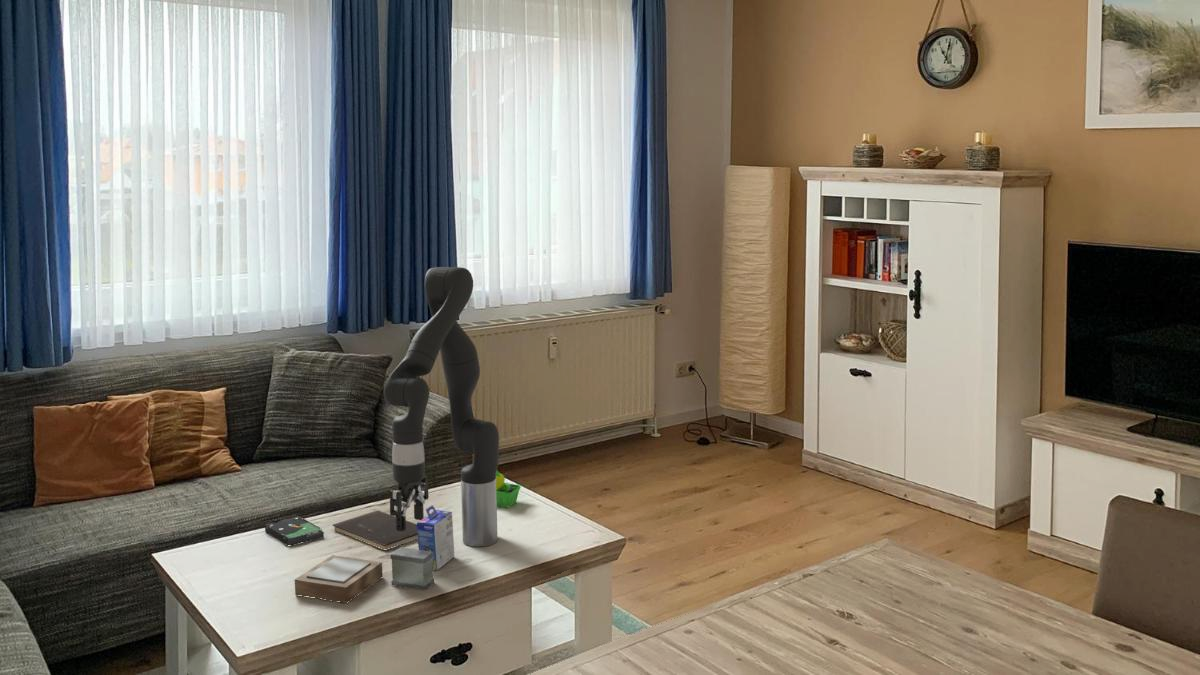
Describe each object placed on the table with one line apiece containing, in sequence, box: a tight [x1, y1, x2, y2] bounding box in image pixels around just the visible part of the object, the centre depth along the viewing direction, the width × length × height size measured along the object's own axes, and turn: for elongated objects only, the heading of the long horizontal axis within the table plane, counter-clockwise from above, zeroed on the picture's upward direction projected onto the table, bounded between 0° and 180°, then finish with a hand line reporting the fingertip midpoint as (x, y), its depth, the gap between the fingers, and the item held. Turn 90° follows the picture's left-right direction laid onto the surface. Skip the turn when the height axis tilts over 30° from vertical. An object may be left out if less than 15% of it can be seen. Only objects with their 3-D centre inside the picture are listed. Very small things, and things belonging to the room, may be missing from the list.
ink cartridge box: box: [416, 505, 455, 571], centre depth 274 cm, size 10×6×14 cm, turn 161°
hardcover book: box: [332, 509, 418, 550], centre depth 296 cm, size 16×23×2 cm
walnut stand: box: [294, 554, 384, 604], centre depth 260 cm, size 16×14×4 cm
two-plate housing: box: [389, 546, 435, 591], centre depth 261 cm, size 5×9×8 cm, turn 71°
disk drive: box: [264, 515, 325, 546], centre depth 294 cm, size 10×3×15 cm
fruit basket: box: [496, 470, 522, 508], centre depth 318 cm, size 11×9×11 cm
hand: (410, 524), depth 259 cm, fingers open, 8 cm apart
